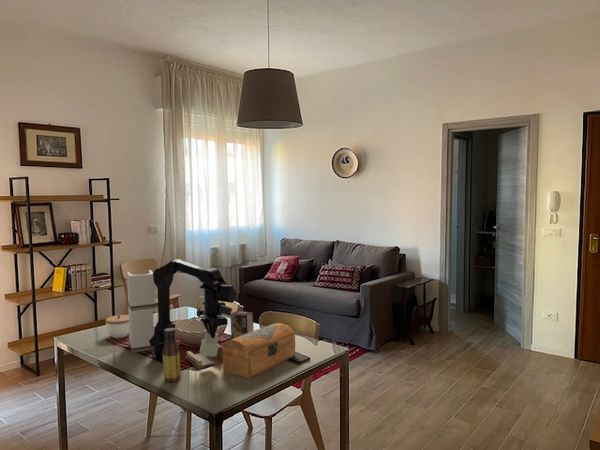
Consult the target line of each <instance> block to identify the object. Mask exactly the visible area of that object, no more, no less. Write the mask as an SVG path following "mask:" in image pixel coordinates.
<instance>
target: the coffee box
mask: <svg viewBox="0 0 600 450" xmlns="http://www.w3.org/2000/svg"><path fill="white" fill-rule="evenodd" d="M229 317H230V340H232V339H234V338H237V337H239V336H242V335H244V334H247V333H249V332H252V331H254V312H252V311H251V312H250V311H243V310H241V311H240V310H235V311H234V312H233V311H232V312H231V315H230V316H229Z"/></svg>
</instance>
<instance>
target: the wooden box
mask: <svg viewBox="0 0 600 450" xmlns="http://www.w3.org/2000/svg"><path fill="white" fill-rule="evenodd" d="M253 330H254V329H253ZM221 346H222V353H223V354H222V355H223V363H222V367H223V371H225V372H228V373H230V374H235V375H236V376H237V375H238V376H240V377H243V378H247V379H252V378H254V377H256V376H258V375H261V374H262V373H264V372H265V371H268V370H270V369H272V368H274V367H276V366H277V365H280V364H282V363H284V362H286V361H288V360H290V359H289V357H291V356H292V355H294V354H296V334H295V332H294V330H293V328H291V327H290V326H289V325H288V324H285V323H280V322H277V323H271V324H269V325H267V326H264V327H261V328H258V329H257V328H256V329H255V330H254V331H252V332H249V333H247V334H244V335H242V336H239V337H237V338H234V339H232V340H231V339H228V340H227V341H225V342H224V343H223V345H221Z"/></svg>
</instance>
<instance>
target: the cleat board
mask: <svg viewBox="0 0 600 450" xmlns="http://www.w3.org/2000/svg"><path fill="white" fill-rule="evenodd" d="M222 346H223V345H220V344H219V346H218V351H217V356H204V355H203V354H202V353H201V352H199V353H196V354H194V353H193V352H192V351H190V350H189V351H186V356H185V359H186V361H188V362H189V361H190V362H191V363H192V364H191V365H192V366H193V367H195V368H196V369H197V370H200V369H205V368H208V367H212V366H215V365H216V366H217V365H221V364H223V355H222V354H223V353H222ZM190 362H189V363H190Z"/></svg>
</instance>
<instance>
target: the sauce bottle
mask: <svg viewBox="0 0 600 450" xmlns="http://www.w3.org/2000/svg"><path fill="white" fill-rule="evenodd" d="M175 331H176V327H175V328H167V329H165V330H164V334H165V344H164V348H163V351H162V352H163V359H162V363H163V364H162V366H163V368H162V369H163V377H164V380H165V381H166V382H168V383H169V382H170V383H172V382H176V381H178V380H180V379H181V376H182V375H181V374H182V373H181V372H182V371H181V358H180V345H179V344H178V342H177V340H176V333H175Z"/></svg>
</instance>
